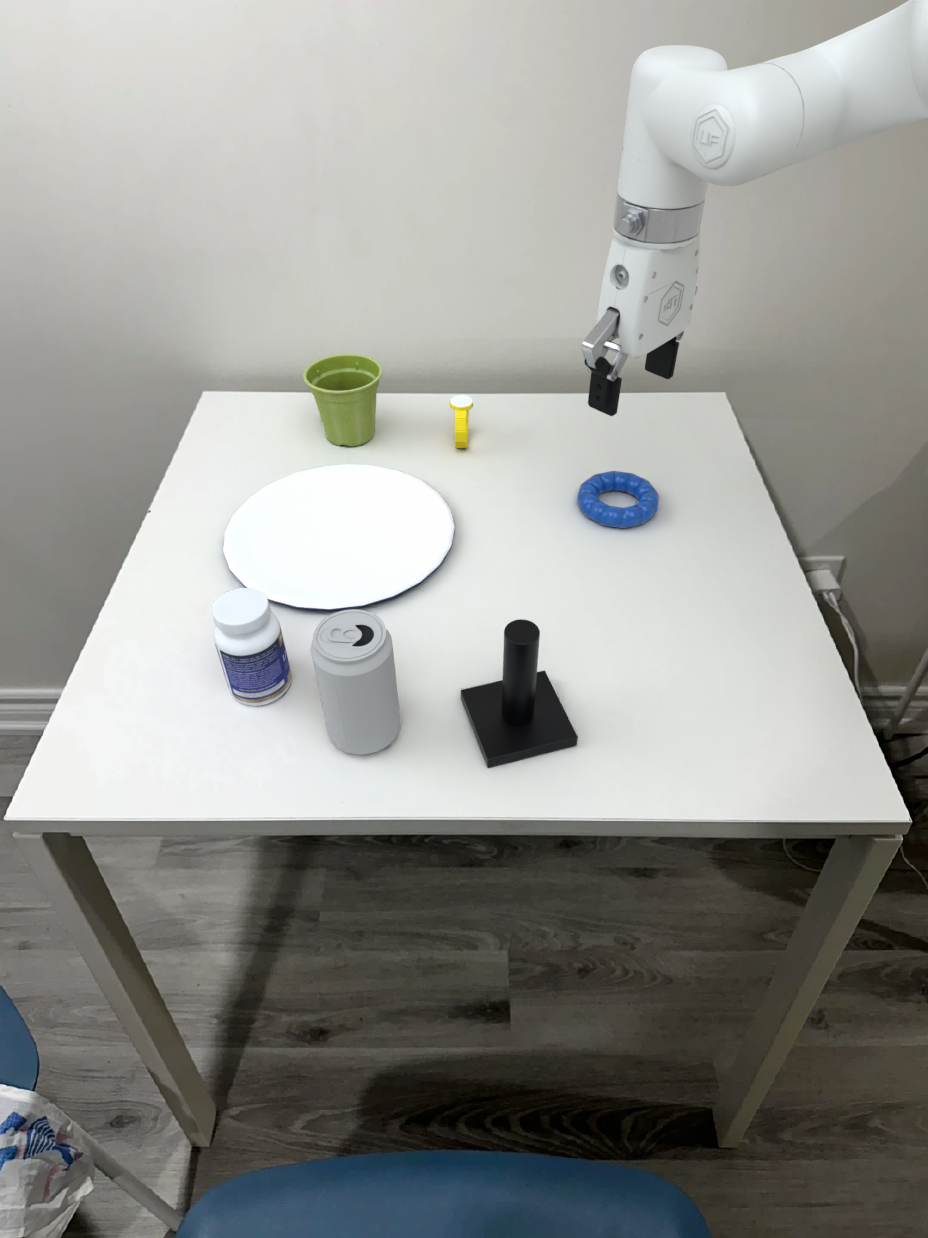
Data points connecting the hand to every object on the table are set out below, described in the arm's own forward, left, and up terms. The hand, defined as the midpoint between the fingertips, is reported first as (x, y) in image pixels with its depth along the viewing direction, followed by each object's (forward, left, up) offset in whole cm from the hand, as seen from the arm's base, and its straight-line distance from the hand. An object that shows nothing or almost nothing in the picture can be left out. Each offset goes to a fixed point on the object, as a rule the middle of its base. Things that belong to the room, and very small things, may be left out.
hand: (630, 391), depth 87 cm
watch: (+13, -18, -15) cm, 26 cm away
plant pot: (+26, -24, -15) cm, 38 cm away
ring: (0, 0, -13) cm, 13 cm away
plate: (+31, -4, -15) cm, 34 cm away
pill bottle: (+42, +15, -15) cm, 47 cm away
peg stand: (+21, +26, -14) cm, 36 cm away
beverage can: (+34, +23, -15) cm, 44 cm away
